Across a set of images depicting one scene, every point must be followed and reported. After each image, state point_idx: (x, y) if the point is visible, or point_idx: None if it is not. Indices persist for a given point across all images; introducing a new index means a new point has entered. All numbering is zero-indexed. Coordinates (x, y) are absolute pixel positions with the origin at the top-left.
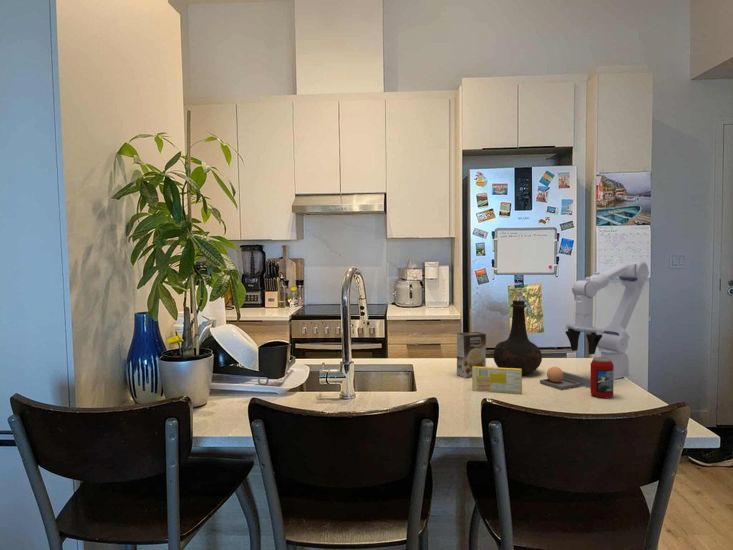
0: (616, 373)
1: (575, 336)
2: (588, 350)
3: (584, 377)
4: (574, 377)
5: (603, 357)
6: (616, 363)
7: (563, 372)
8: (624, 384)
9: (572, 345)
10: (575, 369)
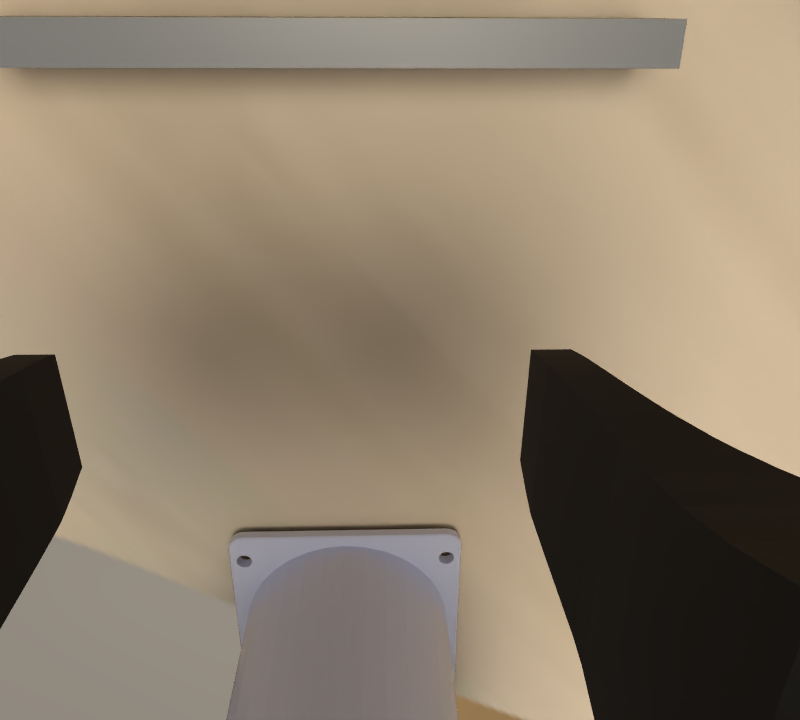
0: (248, 623)
1: (646, 704)
2: (10, 380)
3: (83, 44)
4: (267, 17)
5: (357, 717)
6: (228, 717)
7: (495, 20)
8: None
9: (568, 393)
10: None
